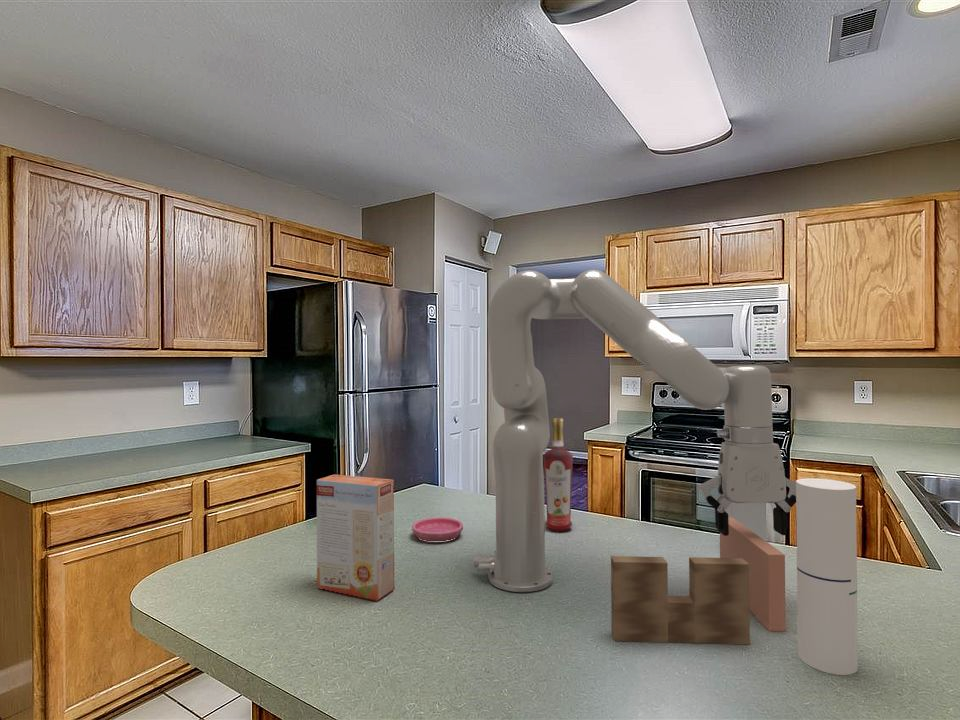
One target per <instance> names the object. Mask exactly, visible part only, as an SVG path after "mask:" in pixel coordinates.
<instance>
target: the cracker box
mask: <svg viewBox="0 0 960 720" xmlns="http://www.w3.org/2000/svg"><path fill="white" fill-rule="evenodd" d="M394 484H395V483H394V479H391V478H389V479H388V478H379V477H370V476H369V477H367V476H357V475H347V474H332V475H328V476H325V477H321V478H318V479H316V588H317V587H318V588H322V589H325V590H324V591H327V590H329V592H332V591H334V593H336V592H339V593H338V594H341V593H343V594H342V595H346V594H349V595H348V596H351V595H353V596H352V597H356V596H357V597H356V598H362V599H367V600H371V601H376V602H377V601H379V600H381V599H382V598H384V597H385V596H386V595H388V594H390V593H391V592H392V591H394V590H395V504H394V503H395V498H394V494H395V493H394V491H395V489H394V487H395V486H394ZM318 588H317V589H318ZM322 589H321V590H322Z"/></svg>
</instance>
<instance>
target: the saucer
mask: <svg viewBox="0 0 960 720" xmlns="http://www.w3.org/2000/svg"><path fill="white" fill-rule="evenodd" d="M411 530H412V532H413V534H414V535H415V536H416V537H417V538H418V539H419V538H420V539H422V540H426V541H446V540H451V539H454V538H456V537H457V538H458V536H459V535H461V532H462V531H463V530H464V523H463V522H461V521H460V520H458V519H456V518H452V517H451V518H450V517H428V518H423V519H419V520H418V521H417V520H416V522H414V523H412V526H411ZM457 538H456V539H457ZM420 539H419V540H420ZM454 540H455V539H454Z"/></svg>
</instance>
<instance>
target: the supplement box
mask: <svg viewBox="0 0 960 720" xmlns="http://www.w3.org/2000/svg"><path fill="white" fill-rule="evenodd" d="M725 512H727V513H728V518H734V519H735V520H737V521H738V522H740V523H741V524H742V525H744V526H745V527H747V528H748V529H749V530H751V531H752V532H754V533H755V534H756V535H758V536H759V537H761V538H762V539H763V540H765V541H766V542H768V539H767V538H768V537H767V536H768V535H767V531H768V529H767V528H768V527H767V526H768V525H767V503H733V502H732V503H731V504H730V505H729V506H728V507H727V509H726V510H725Z"/></svg>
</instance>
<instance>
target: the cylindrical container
mask: <svg viewBox="0 0 960 720" xmlns="http://www.w3.org/2000/svg"><path fill="white" fill-rule="evenodd" d="M795 482H796V503H795V506H796V507H795V509H796V513H795V515H796V521H795V522H796V590H797V592H796V597H797V598H796V599H797V600H796V602H797V603H796V605H797V607H796V608H797V622H796V623H797V656H798V658H799V660H801V661H802V662H803V663H804V664H805V665H807V666H809V667H810V668H813V669H815V670H817V671H821V672H823V673H825V674H830V675H836V676H837V675H838V676H849V675H854V674H856V673H857V672H858V670H859V659H858V658H859V657H858V656H859V651H858V647H859V645H858V644H859V643H858V642H859V641H858V639H859V638H858V556H857V555H858V554H857V552H858V547H857V545H858V544H857V543H858V541H857V540H858V539H857V535H858V534H857V533H858V532H857V486H856V485H855V484H853V483H850V482H847V481H843V480H836V479H830V478H829V479H827V478H814V477H813V478H812V477H809V478H807V477H805V478H800V479H799V478H798V479H796V480H795Z"/></svg>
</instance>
